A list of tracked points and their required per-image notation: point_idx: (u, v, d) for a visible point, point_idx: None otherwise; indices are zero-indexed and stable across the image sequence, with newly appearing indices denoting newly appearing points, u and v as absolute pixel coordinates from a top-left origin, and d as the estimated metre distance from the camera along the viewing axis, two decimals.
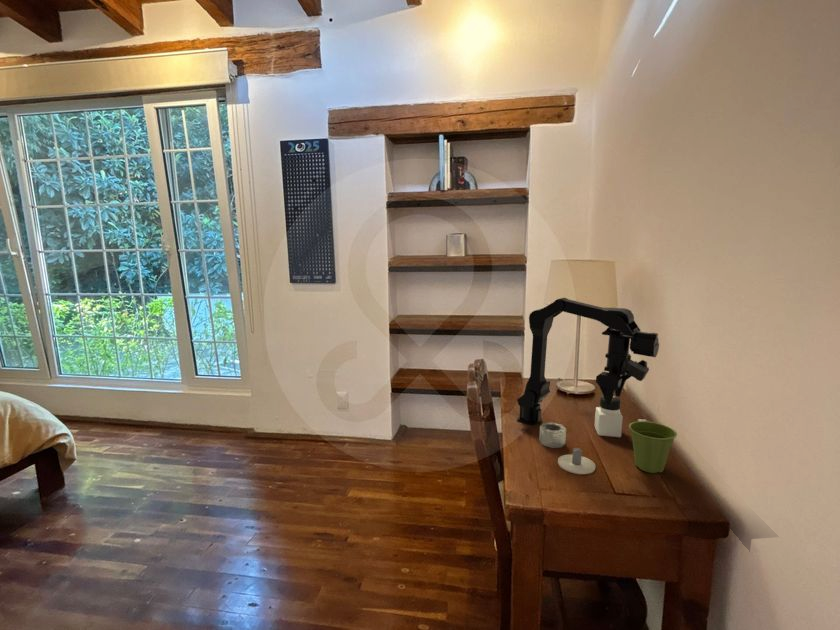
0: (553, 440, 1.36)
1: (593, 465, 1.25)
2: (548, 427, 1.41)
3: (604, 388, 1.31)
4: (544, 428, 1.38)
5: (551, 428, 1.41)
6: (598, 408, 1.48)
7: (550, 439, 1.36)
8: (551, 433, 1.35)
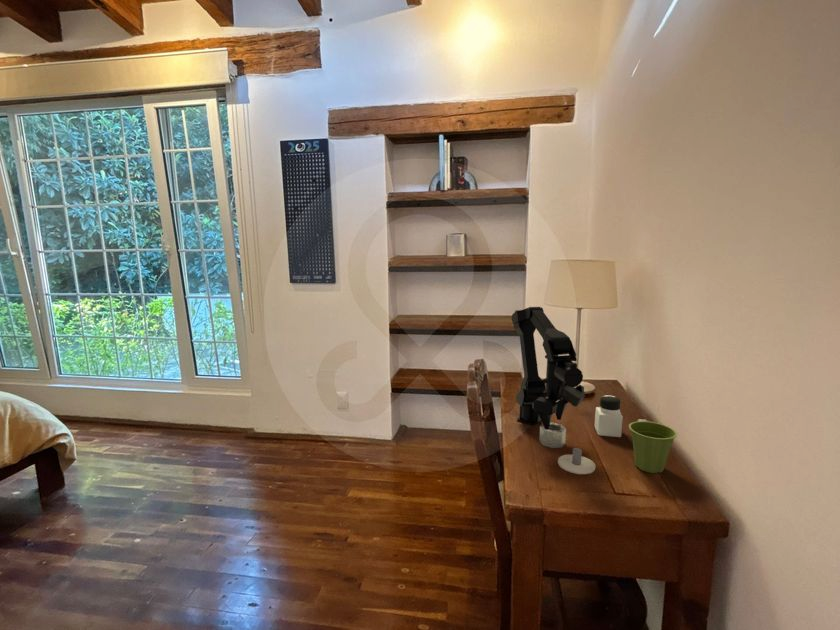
0: (553, 440, 1.36)
1: (593, 465, 1.25)
2: None
3: (541, 413, 1.34)
4: (544, 428, 1.38)
5: (551, 428, 1.41)
6: (598, 408, 1.48)
7: (550, 439, 1.36)
8: (551, 433, 1.35)
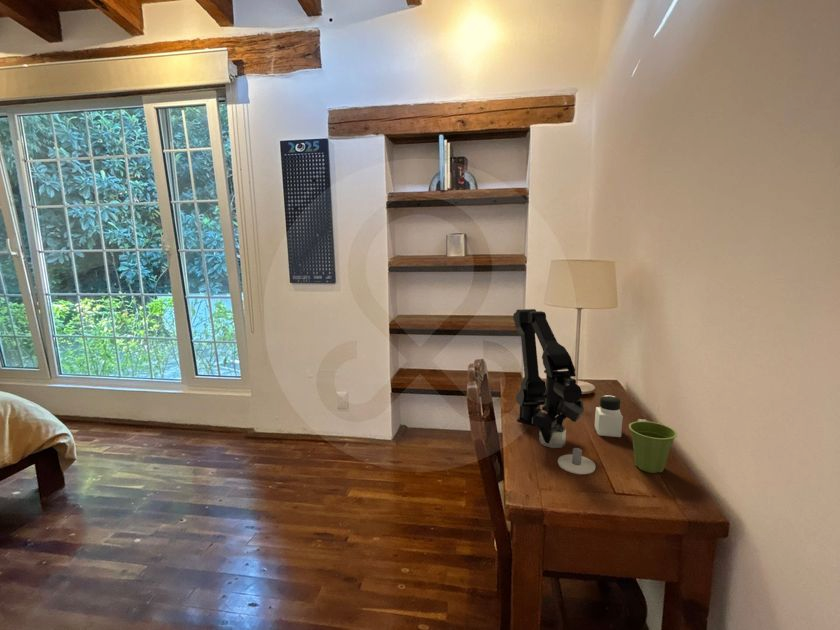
0: (553, 440, 1.36)
1: (593, 465, 1.25)
2: None
3: (542, 427, 1.35)
4: None
5: None
6: (598, 408, 1.48)
7: (550, 439, 1.36)
8: (551, 433, 1.35)
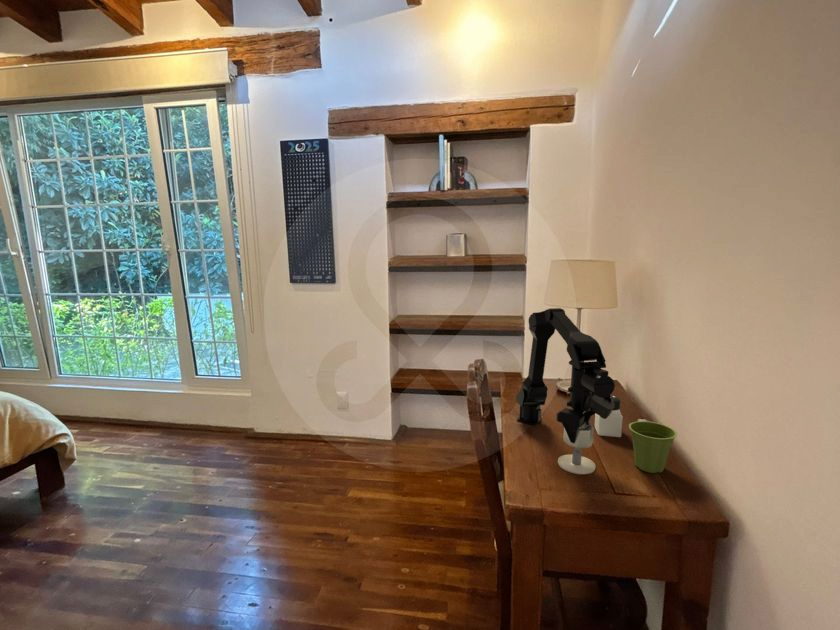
0: (580, 439, 1.21)
1: (593, 465, 1.25)
2: None
3: (567, 425, 1.20)
4: None
5: None
6: None
7: (576, 438, 1.21)
8: (578, 431, 1.21)
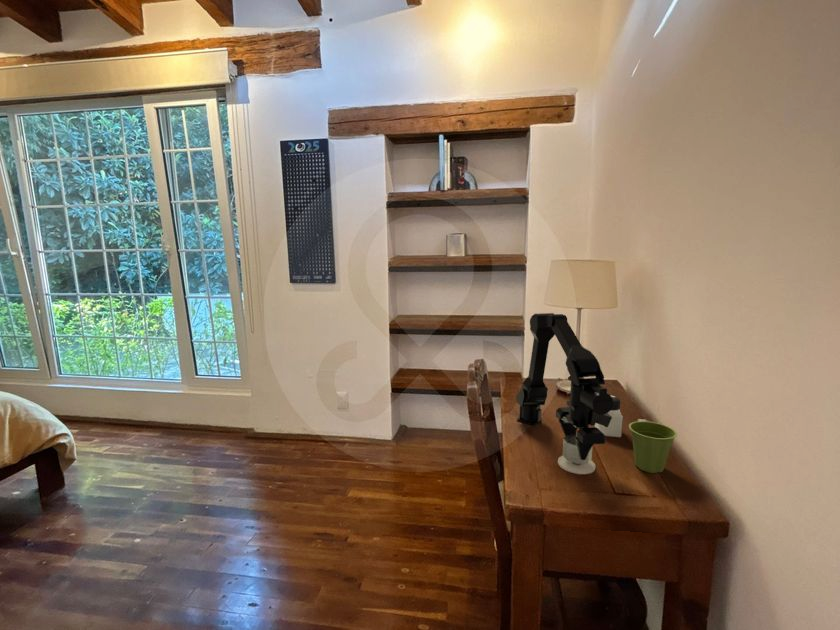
0: (588, 454, 1.22)
1: (593, 465, 1.25)
2: None
3: (582, 444, 1.19)
4: (576, 445, 1.22)
5: (570, 442, 1.27)
6: None
7: None
8: None
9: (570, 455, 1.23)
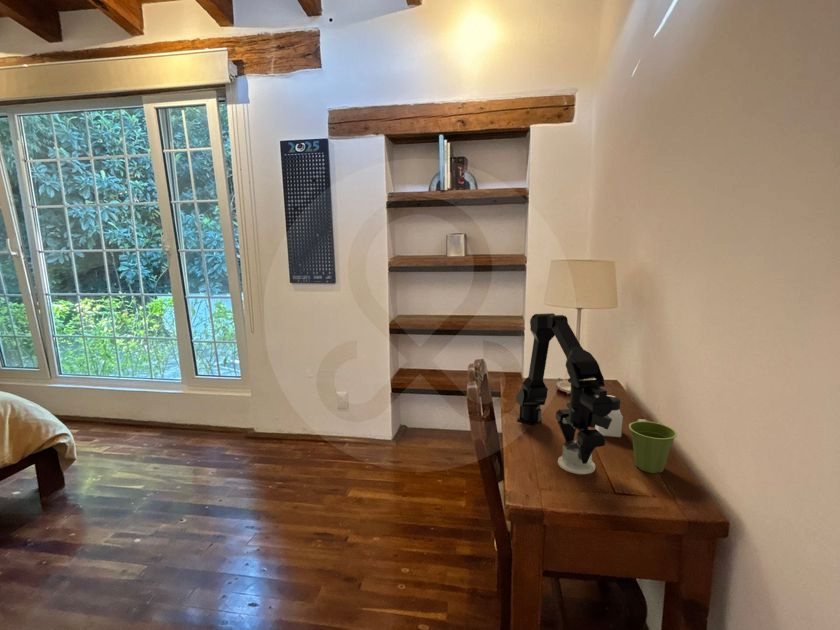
0: (588, 460, 1.22)
1: (593, 465, 1.25)
2: None
3: (584, 448, 1.18)
4: (576, 451, 1.22)
5: None
6: None
7: None
8: None
9: (570, 461, 1.23)
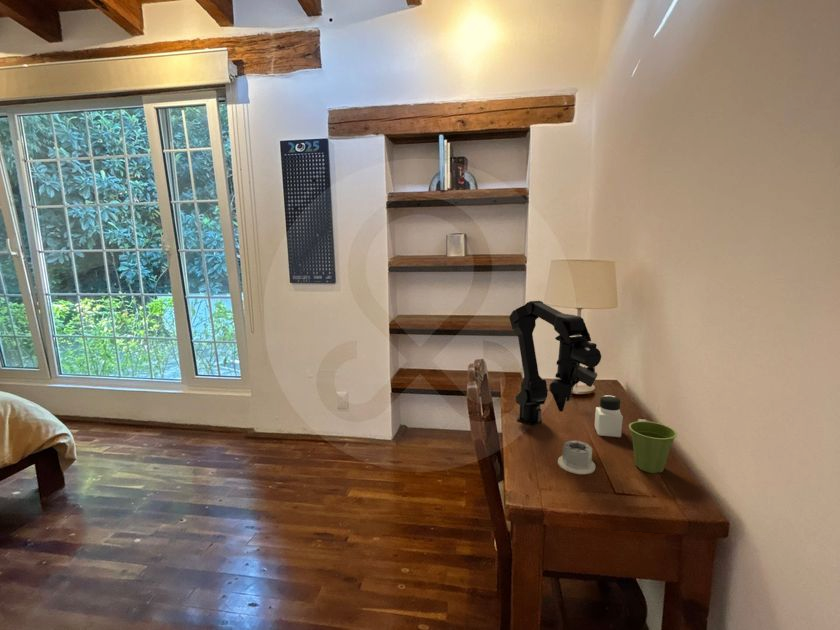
0: (588, 460, 1.22)
1: (593, 465, 1.25)
2: None
3: (557, 395, 1.32)
4: (576, 451, 1.22)
5: None
6: (598, 408, 1.48)
7: (585, 460, 1.22)
8: (587, 453, 1.22)
9: (570, 461, 1.23)
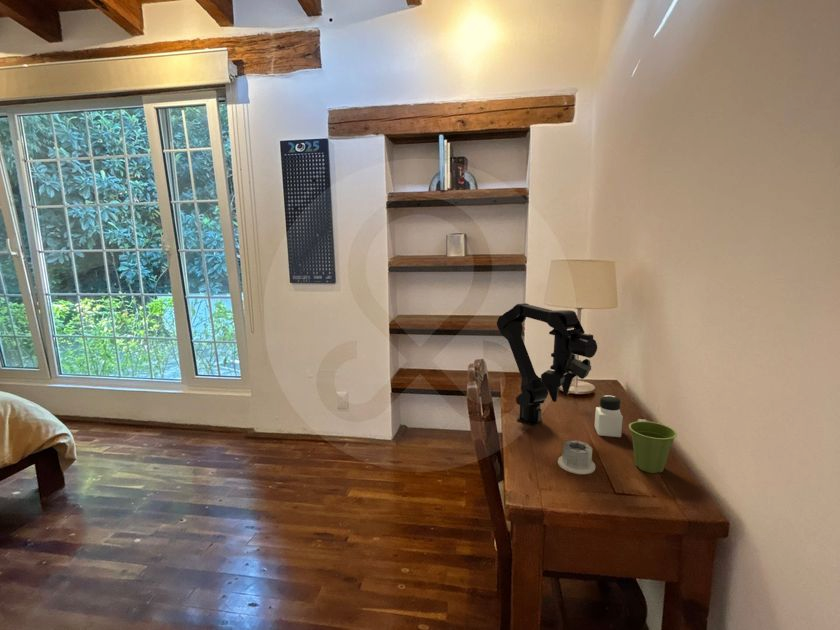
0: (588, 460, 1.22)
1: (593, 465, 1.25)
2: None
3: (549, 386, 1.39)
4: (576, 451, 1.22)
5: None
6: (598, 408, 1.48)
7: (585, 460, 1.22)
8: (587, 453, 1.22)
9: (570, 461, 1.23)
